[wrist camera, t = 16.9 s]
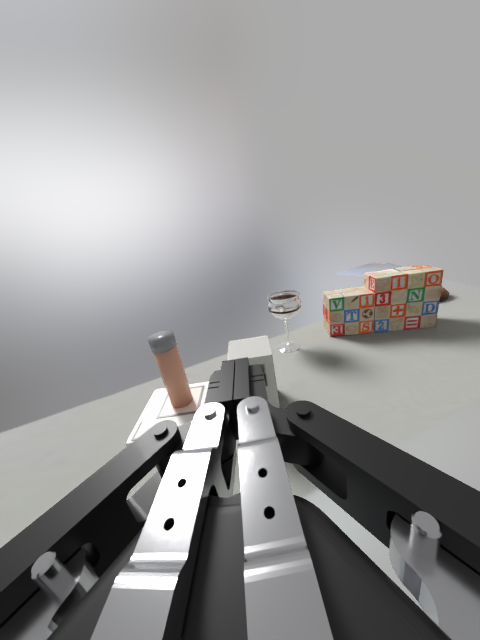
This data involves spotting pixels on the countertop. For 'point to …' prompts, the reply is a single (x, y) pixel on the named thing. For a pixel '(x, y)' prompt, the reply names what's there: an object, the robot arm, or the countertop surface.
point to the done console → (257, 361)
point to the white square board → (168, 410)
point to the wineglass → (285, 313)
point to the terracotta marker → (171, 368)
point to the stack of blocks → (385, 302)
